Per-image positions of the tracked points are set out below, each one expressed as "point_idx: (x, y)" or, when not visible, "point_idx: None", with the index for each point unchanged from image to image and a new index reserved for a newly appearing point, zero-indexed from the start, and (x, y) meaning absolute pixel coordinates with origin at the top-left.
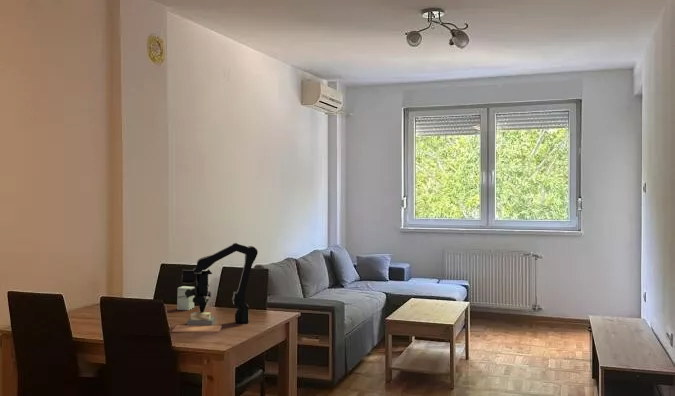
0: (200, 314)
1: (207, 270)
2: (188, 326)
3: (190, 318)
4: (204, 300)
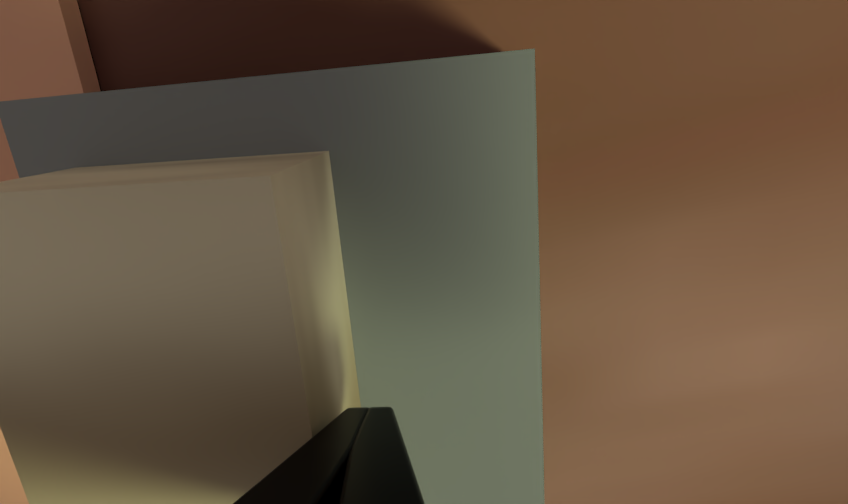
0: (33, 478)
1: None
2: (2, 152)
3: (264, 105)
4: None
